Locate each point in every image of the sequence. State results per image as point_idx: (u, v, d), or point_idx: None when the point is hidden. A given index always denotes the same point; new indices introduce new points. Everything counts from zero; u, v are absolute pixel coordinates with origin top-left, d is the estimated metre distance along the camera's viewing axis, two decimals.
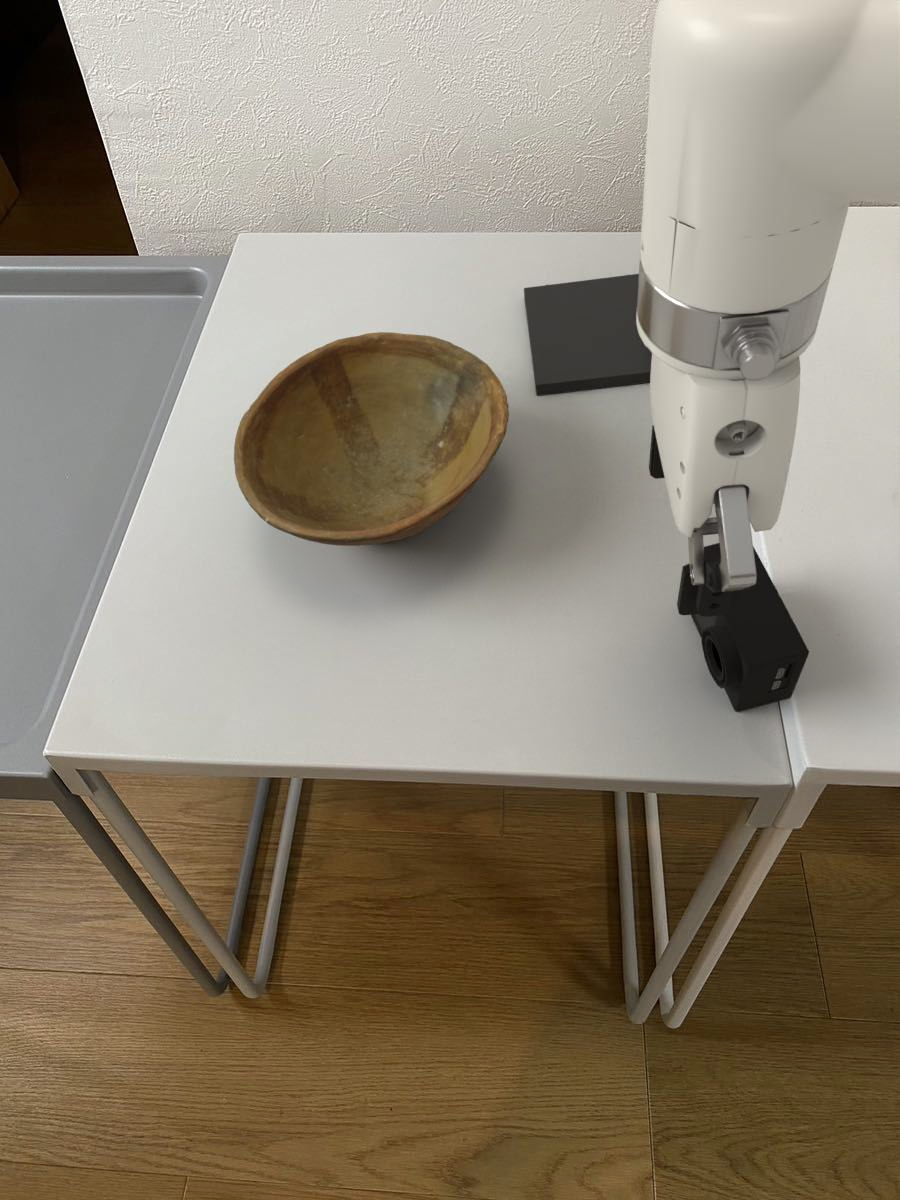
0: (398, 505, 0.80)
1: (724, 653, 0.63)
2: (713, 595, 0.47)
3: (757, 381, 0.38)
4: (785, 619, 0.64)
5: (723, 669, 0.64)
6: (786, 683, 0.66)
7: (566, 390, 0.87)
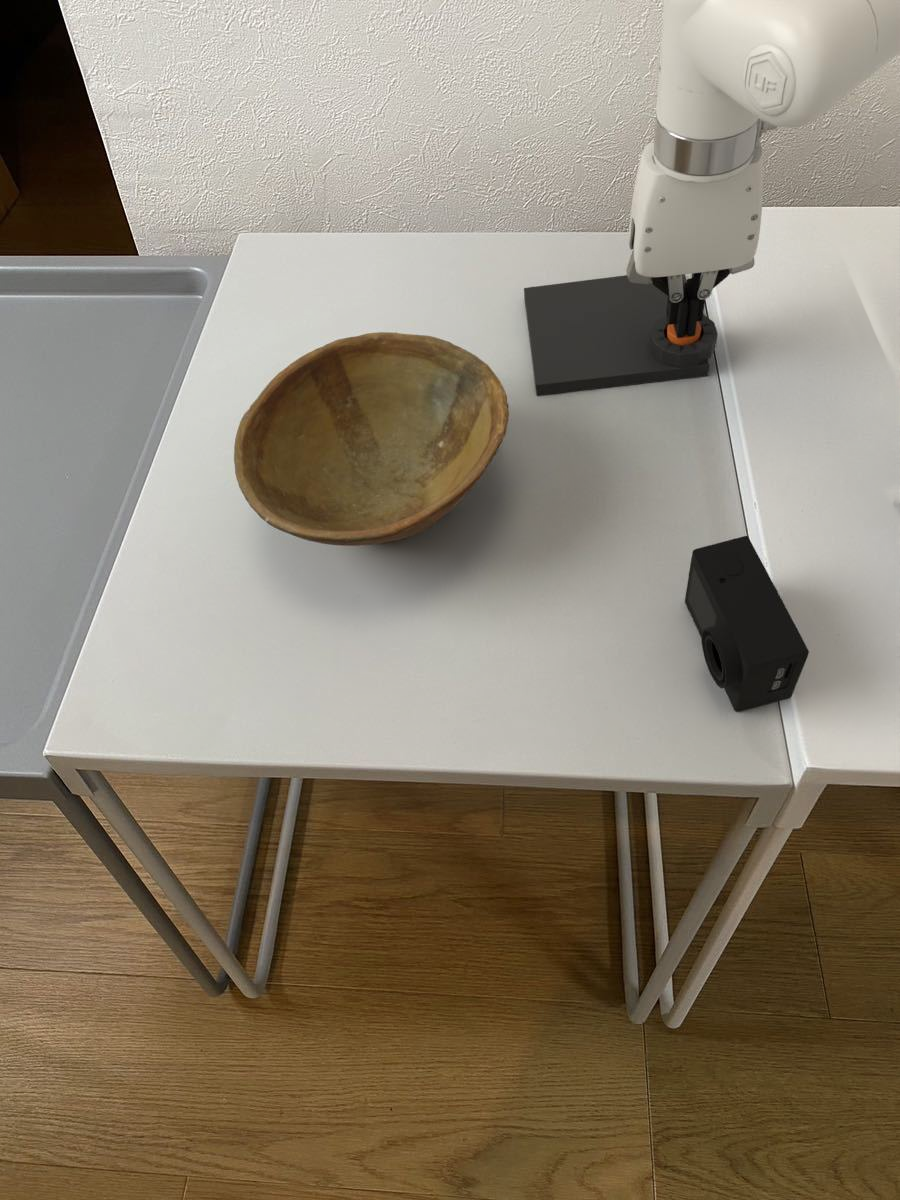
0: (398, 505, 0.80)
1: (724, 653, 0.63)
2: None
3: None
4: (785, 619, 0.64)
5: (723, 669, 0.64)
6: (786, 683, 0.66)
7: (566, 390, 0.87)
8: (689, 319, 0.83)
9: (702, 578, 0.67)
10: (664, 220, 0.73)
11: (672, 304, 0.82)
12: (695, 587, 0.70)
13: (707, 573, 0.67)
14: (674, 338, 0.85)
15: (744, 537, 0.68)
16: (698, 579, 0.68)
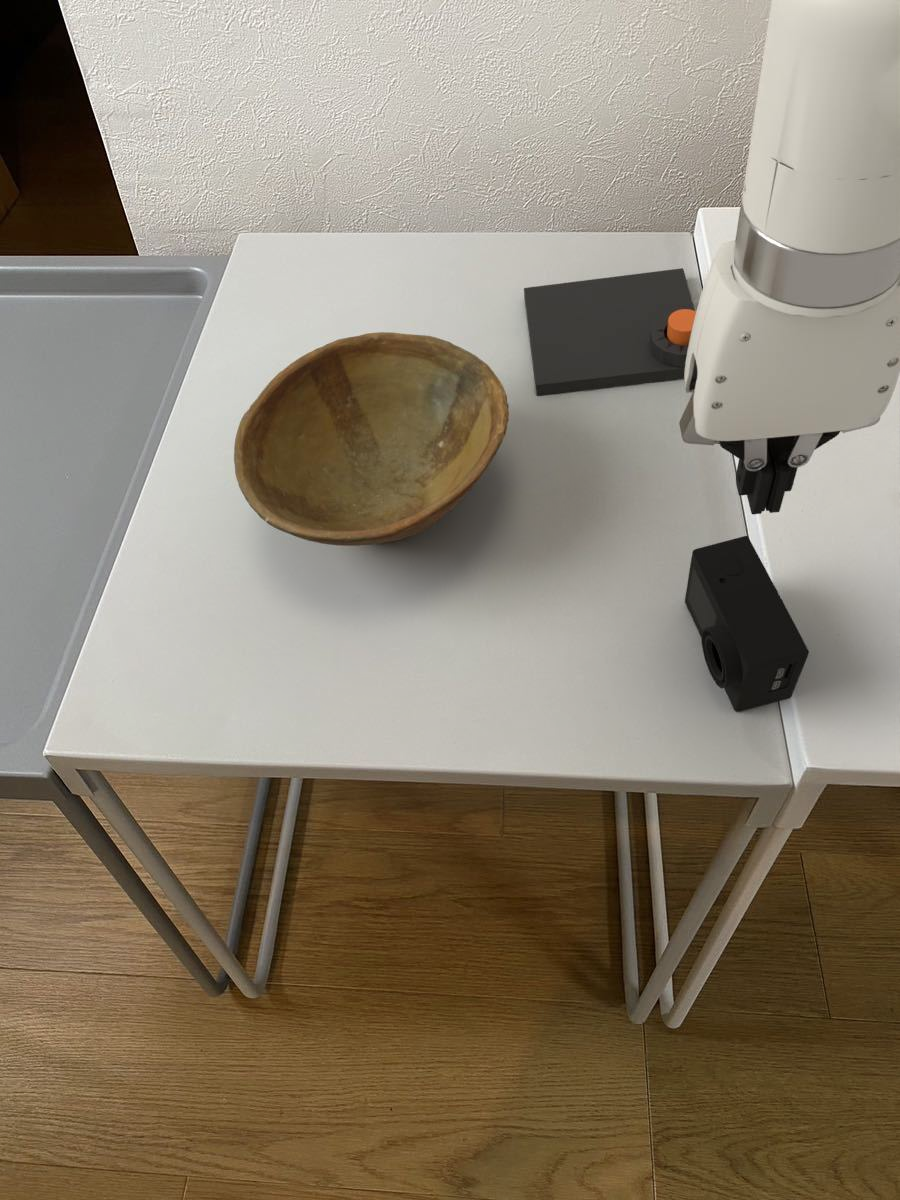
0: (398, 505, 0.80)
1: (724, 653, 0.63)
2: None
3: None
4: (785, 619, 0.64)
5: (723, 669, 0.64)
6: (786, 683, 0.66)
7: (566, 390, 0.87)
8: (772, 492, 0.55)
9: (702, 578, 0.67)
10: (747, 366, 0.46)
11: (748, 471, 0.54)
12: (695, 587, 0.70)
13: (707, 573, 0.67)
14: (675, 331, 0.84)
15: (744, 537, 0.68)
16: (698, 579, 0.68)
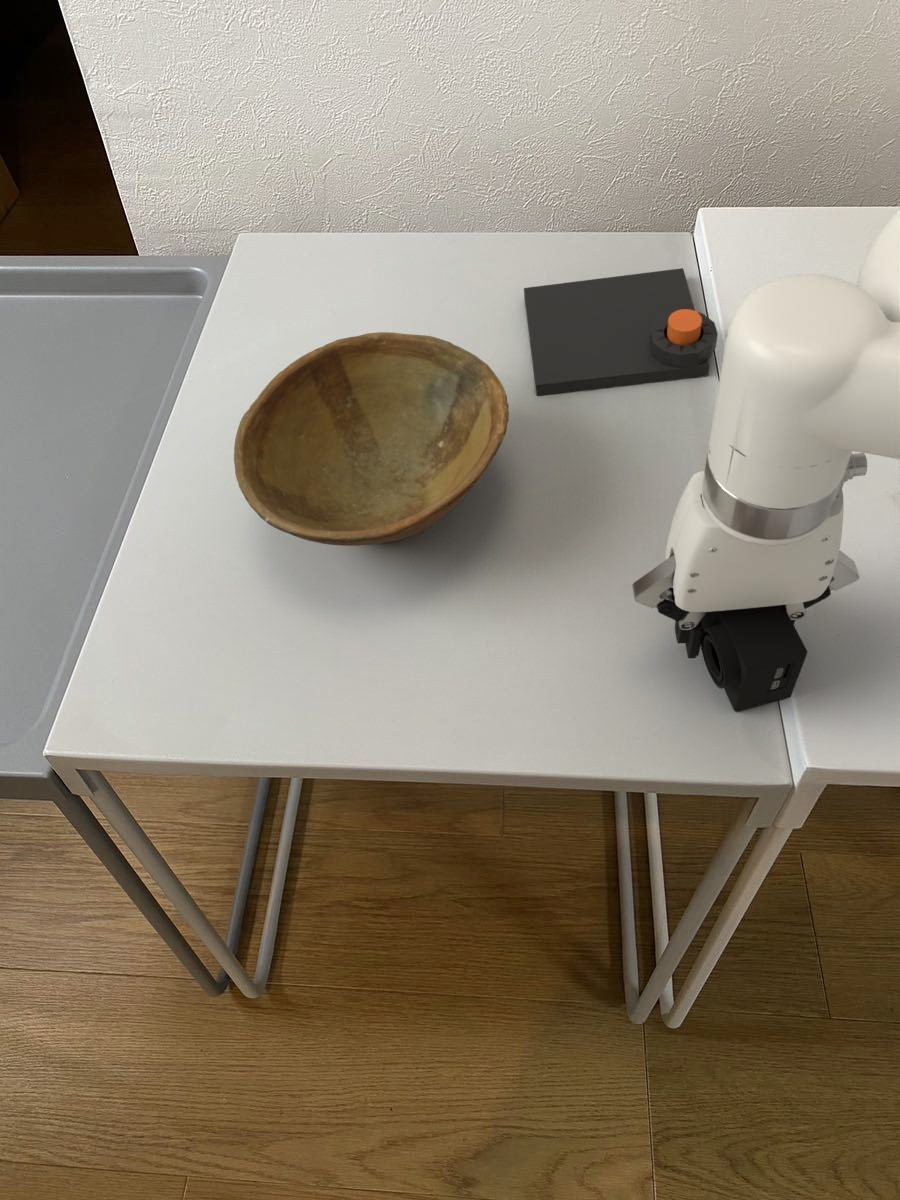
0: (398, 505, 0.80)
1: (722, 653, 0.63)
2: None
3: None
4: (783, 619, 0.64)
5: (721, 669, 0.64)
6: (785, 683, 0.66)
7: (566, 390, 0.87)
8: None
9: None
10: (714, 567, 0.58)
11: None
12: None
13: None
14: (675, 331, 0.84)
15: None
16: None
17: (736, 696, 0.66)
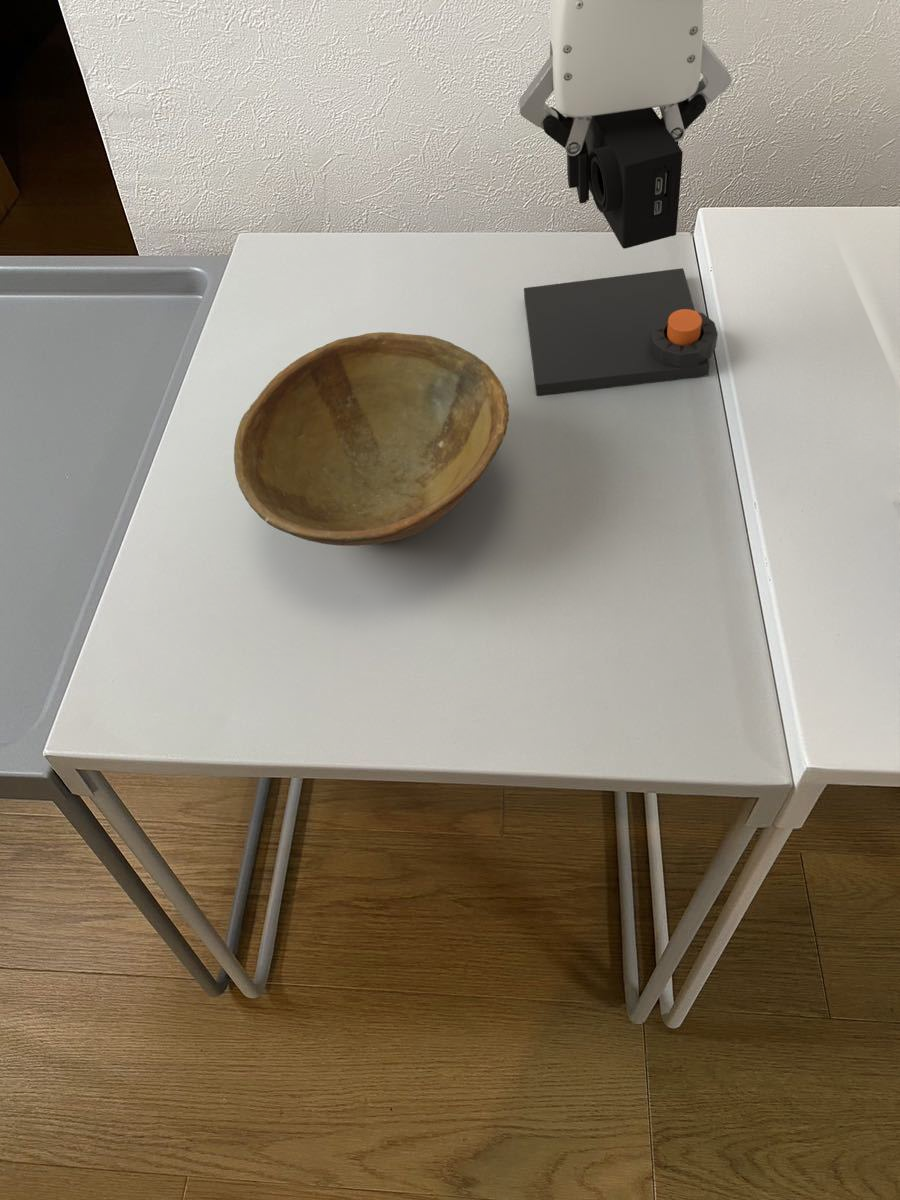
0: (398, 505, 0.80)
1: (603, 161, 0.66)
2: None
3: None
4: (662, 131, 0.67)
5: (604, 182, 0.67)
6: (667, 206, 0.69)
7: (566, 390, 0.87)
8: None
9: None
10: (584, 34, 0.61)
11: (570, 159, 0.70)
12: None
13: None
14: (675, 331, 0.84)
15: None
16: None
17: (622, 224, 0.69)
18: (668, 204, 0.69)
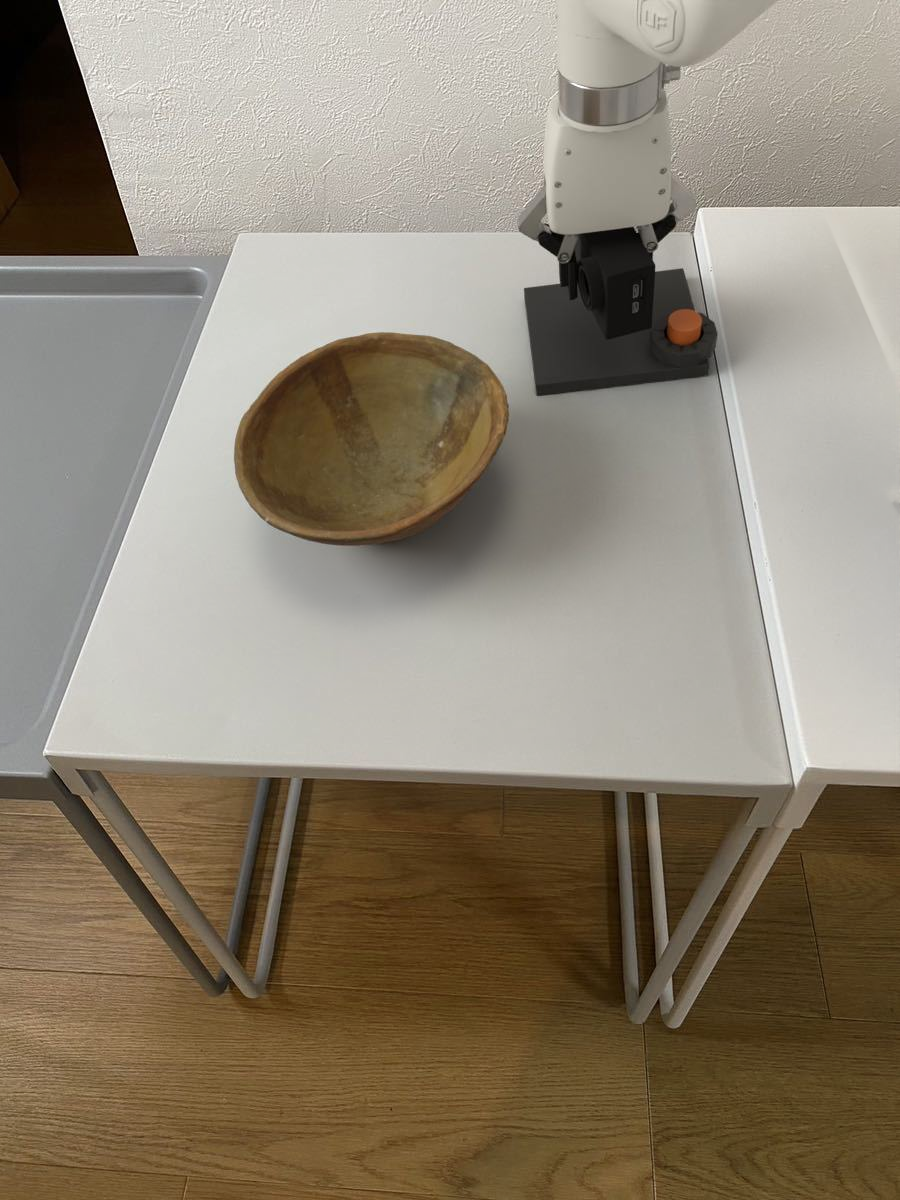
0: (398, 505, 0.80)
1: (589, 271, 0.79)
2: None
3: None
4: (639, 245, 0.79)
5: (589, 288, 0.79)
6: (643, 306, 0.81)
7: (566, 390, 0.87)
8: None
9: None
10: (572, 174, 0.73)
11: (561, 265, 0.82)
12: None
13: None
14: (675, 331, 0.84)
15: None
16: None
17: (605, 320, 0.82)
18: (644, 304, 0.81)
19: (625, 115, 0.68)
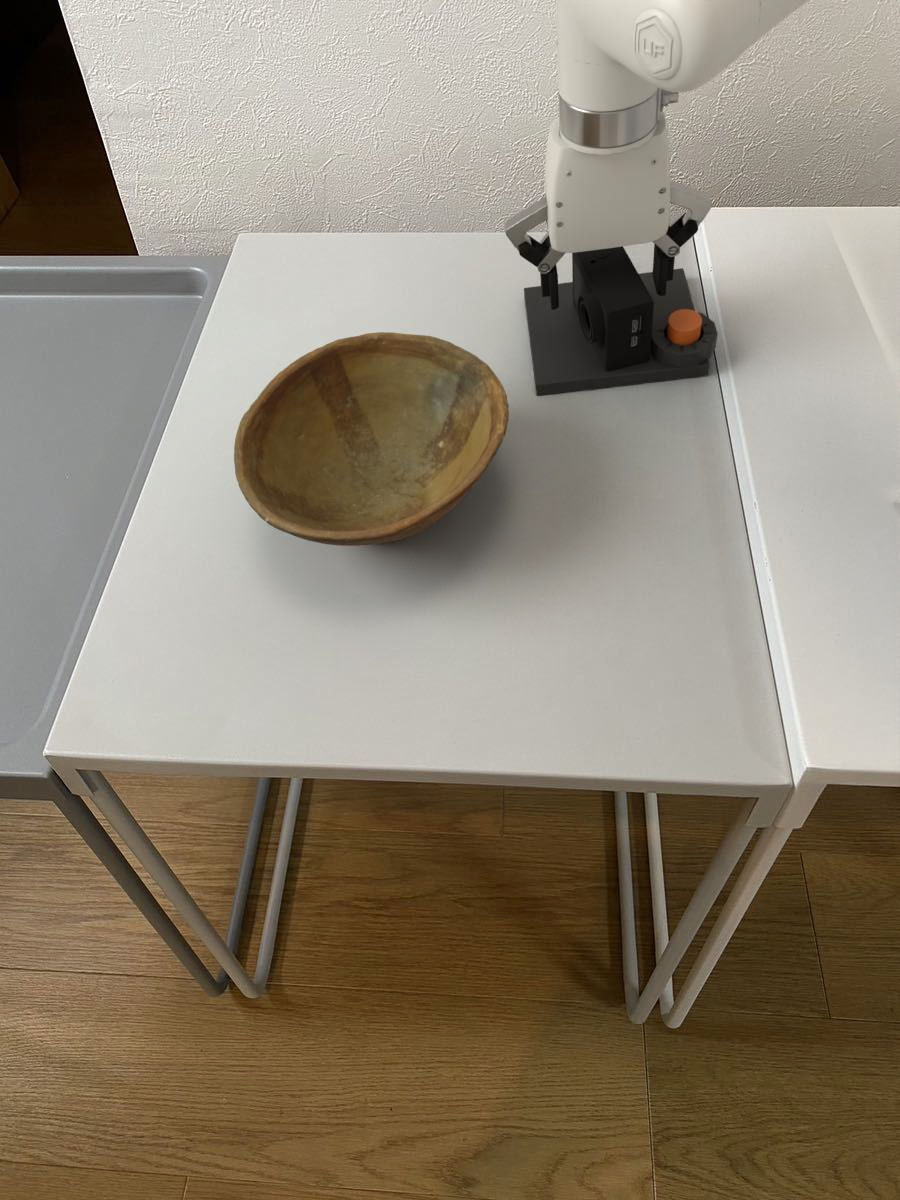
0: (398, 505, 0.80)
1: (590, 307, 0.82)
2: None
3: None
4: (638, 282, 0.82)
5: (590, 322, 0.83)
6: (642, 340, 0.84)
7: (566, 390, 0.87)
8: (659, 278, 0.82)
9: (578, 264, 0.86)
10: (573, 194, 0.74)
11: (542, 275, 0.83)
12: (576, 279, 0.88)
13: (581, 258, 0.85)
14: (675, 331, 0.84)
15: None
16: (577, 268, 0.87)
17: (605, 353, 0.85)
18: (642, 339, 0.84)
19: (624, 138, 0.69)
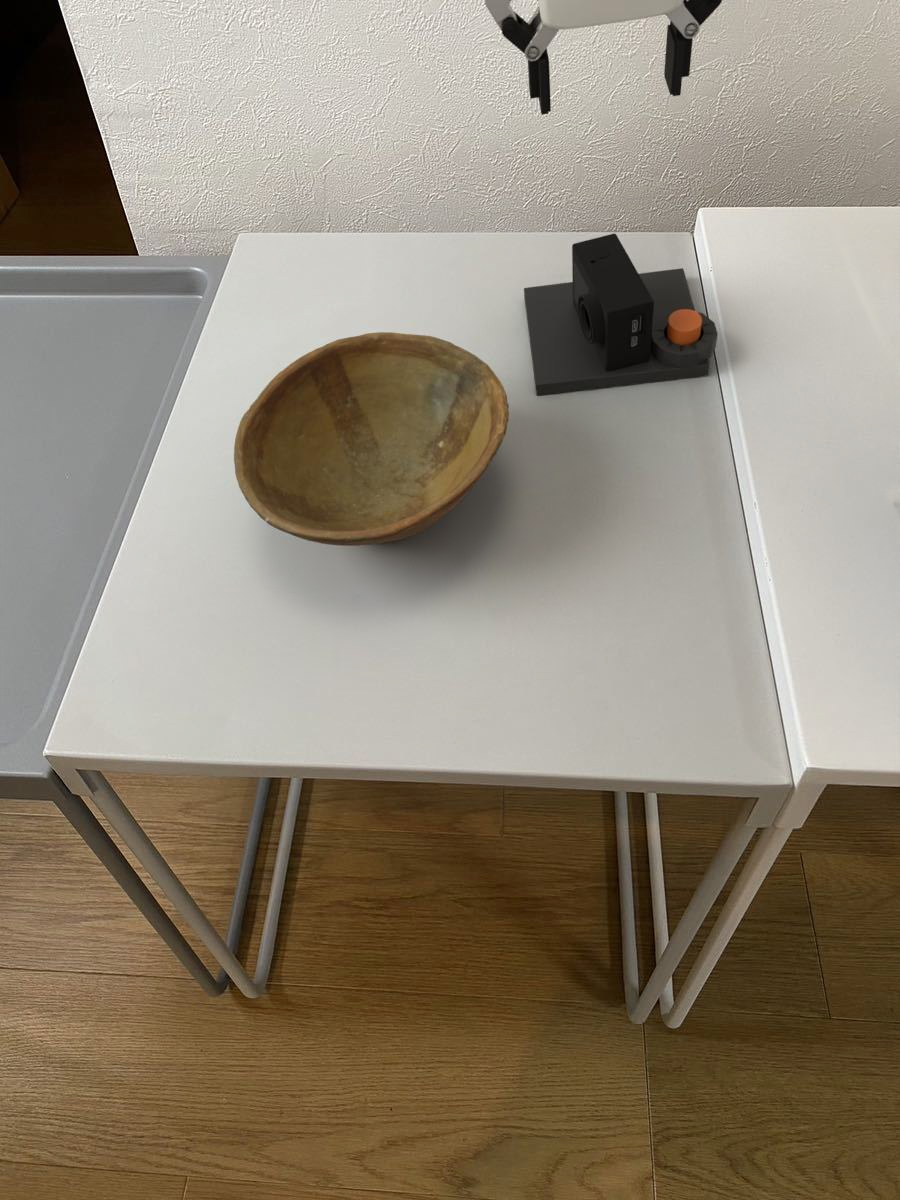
0: (398, 505, 0.80)
1: (590, 307, 0.82)
2: None
3: None
4: (638, 282, 0.82)
5: (590, 322, 0.83)
6: (642, 340, 0.84)
7: (566, 390, 0.87)
8: (673, 69, 0.67)
9: (578, 264, 0.86)
10: None
11: (531, 66, 0.68)
12: (576, 279, 0.88)
13: (581, 258, 0.85)
14: (675, 331, 0.84)
15: (612, 234, 0.86)
16: (577, 268, 0.87)
17: (605, 353, 0.85)
18: (642, 339, 0.84)
19: None
